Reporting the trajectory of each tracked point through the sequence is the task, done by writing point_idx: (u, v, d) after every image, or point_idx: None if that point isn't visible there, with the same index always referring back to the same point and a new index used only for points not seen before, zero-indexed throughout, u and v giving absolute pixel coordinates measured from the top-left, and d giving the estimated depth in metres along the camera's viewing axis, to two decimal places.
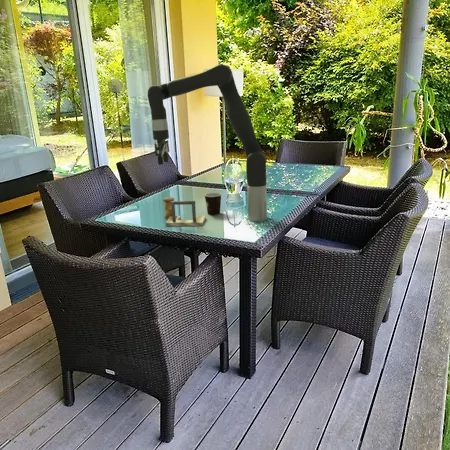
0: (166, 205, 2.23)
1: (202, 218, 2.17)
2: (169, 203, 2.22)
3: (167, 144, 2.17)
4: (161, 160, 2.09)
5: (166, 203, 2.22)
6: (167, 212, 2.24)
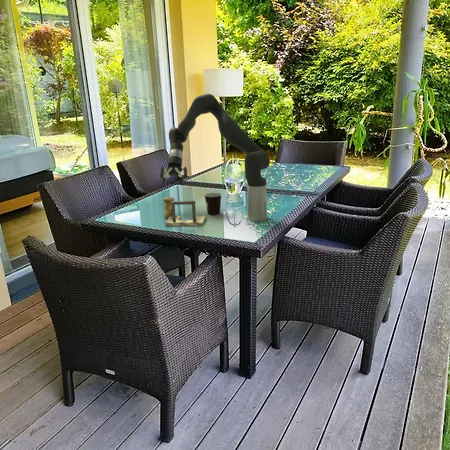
0: (166, 205, 2.23)
1: (202, 218, 2.17)
2: (169, 203, 2.22)
3: (184, 170, 2.35)
4: (163, 180, 2.34)
5: (166, 203, 2.22)
6: (167, 212, 2.24)
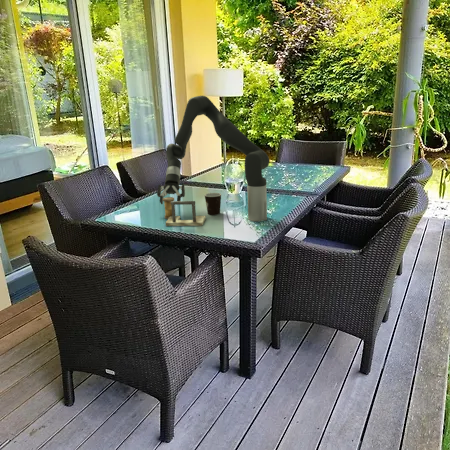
0: (166, 205, 2.23)
1: (202, 218, 2.17)
2: (169, 203, 2.22)
3: (181, 188, 2.28)
4: (160, 199, 2.27)
5: (166, 203, 2.22)
6: (167, 212, 2.24)
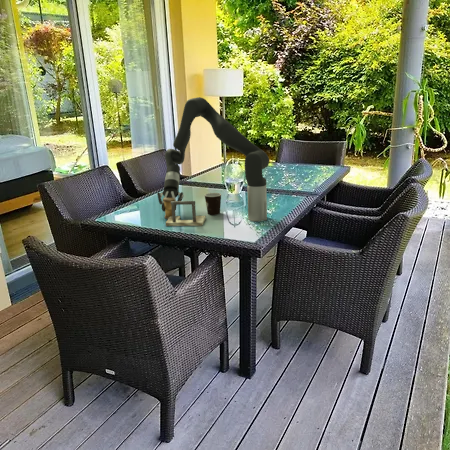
0: (166, 205, 2.23)
1: (202, 218, 2.17)
2: (169, 203, 2.22)
3: (179, 195, 2.26)
4: (162, 206, 2.24)
5: (166, 203, 2.22)
6: (167, 212, 2.23)
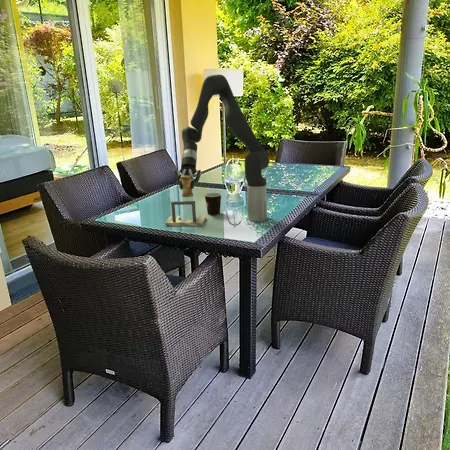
0: (184, 183, 2.17)
1: (202, 218, 2.17)
2: (187, 180, 2.16)
3: (197, 173, 2.20)
4: (180, 184, 2.18)
5: (184, 181, 2.16)
6: (185, 190, 2.18)
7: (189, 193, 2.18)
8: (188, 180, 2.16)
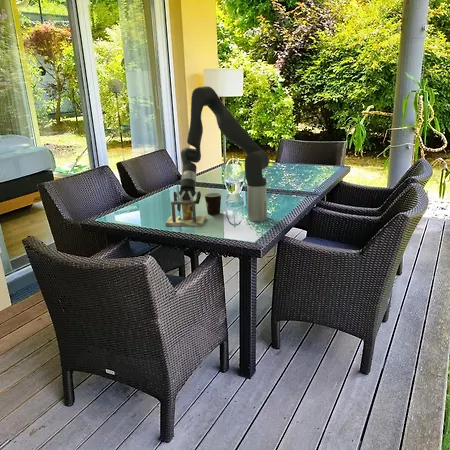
0: (184, 208, 2.16)
1: (202, 218, 2.17)
2: (187, 206, 2.15)
3: (197, 194, 2.19)
4: (177, 206, 2.17)
5: (184, 206, 2.16)
6: (185, 215, 2.17)
7: (189, 218, 2.18)
8: (188, 205, 2.16)
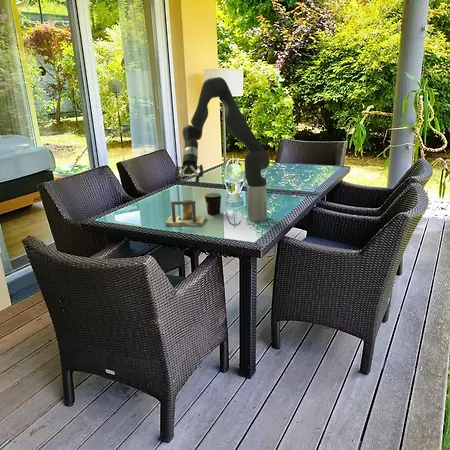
0: (184, 208, 2.16)
1: (202, 218, 2.17)
2: (187, 206, 2.16)
3: (200, 168, 2.25)
4: (178, 179, 2.24)
5: (184, 206, 2.16)
6: (186, 215, 2.17)
7: (189, 218, 2.18)
8: (189, 205, 2.16)
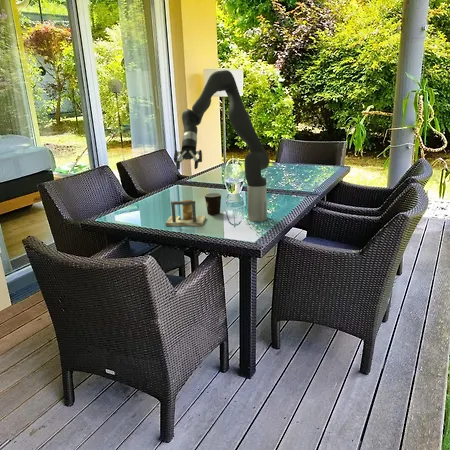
0: (184, 208, 2.16)
1: (202, 218, 2.17)
2: (187, 206, 2.16)
3: (199, 153, 2.23)
4: (177, 164, 2.21)
5: (184, 206, 2.16)
6: (186, 215, 2.17)
7: (189, 218, 2.18)
8: (189, 205, 2.16)
